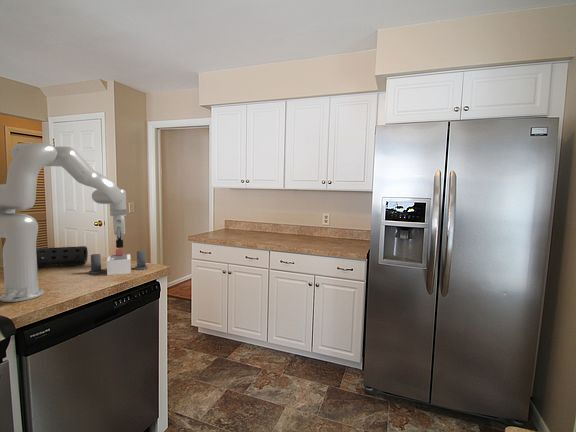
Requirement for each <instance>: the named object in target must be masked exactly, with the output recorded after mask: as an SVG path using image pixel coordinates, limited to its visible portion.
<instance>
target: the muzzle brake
mask: <svg viewBox="0 0 576 432" xmlns="http://www.w3.org/2000/svg"><path fill="white" fill-rule="evenodd" d="M36 254H37V269H38V268H45V267H46V266H57V267H60V266H64V267H65V266H78V265H79V266H81V265H86V263H87V261H88V258H89V257H88V256H89V255H88V254H89V253H88V248H87V246H83V245H81V246H63V247H62V246H61V247H58V246H57V247H40V248H37V247H36Z"/></svg>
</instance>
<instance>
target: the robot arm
mask: <svg viewBox="0 0 576 432" xmlns="http://www.w3.org/2000/svg"><path fill="white" fill-rule="evenodd" d="M10 156H11V158H12V161H11V162H10V163H9V167H8V169H7V177H6V182H5V183H2V184H0V239H1V238H2V239H5V241H4V244H3V247H2V262H3V263H2V264H3V265H2V266H3V280H4V293H3V294H1V295H0V301H1V302H3V303H4V302H5V303H16V302H23V301H29V300H32V299H35V298H37V297H38V298H39V297H41V296H42V295H44V289H43V288H39V278H38V277H39V275H38V268H37V254H36V248H37V239H38V233H39V223H38V221H37V220H36V218H34V217H33V216H31V215H29V214H26V213H16V211H18V210H19V211H21V210H22V211H23V210H24V211H25V210H29V209H32V208H33V206H34V205H35V203H36V197H37V186H38V185H37V183H38V177H39V173H40V171H41V170H42V169H43V168H45V167H62V168H63V170H65V171H66V172H67V173H68V174H69V175H70V176H71V177H72V178H73V179H74V180H75V181H76V182H78V183H79V184H81V185H83V186H87V187H90V188H93V189H95V190H94V191H93V192H92V194H91V199H92V201H93V202H94V203H96V204H102V205H109V213H110V214H109V215H110V217H112V222H113V233H114V235H115V238H116V240H115V249H121V248H122V249H123V248H124V239H123V236H125V235H126V219H125V217H126V216H127V214H128V212H127V191H126V190H125V189H122V188H119V186H118V185H117V184H116V183H115V182H114V181H113V180H111V179H110V178H108V177H106V176H105V175H103V174H101V173H99V172H98V171H96V170H94V169H93V168H92V167H91V165H90V164H89V163H88V162H87V160H85V159H84V158H83V157H82V155H80V153H79V152H77V150H76V149H75V148H73V147H71V146H70V147H69V146H54V145H52V144H50V143H48V142H22V143H21V142H20V143H18V144H16V145H13V147H12V148H11V150H10Z"/></svg>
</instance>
